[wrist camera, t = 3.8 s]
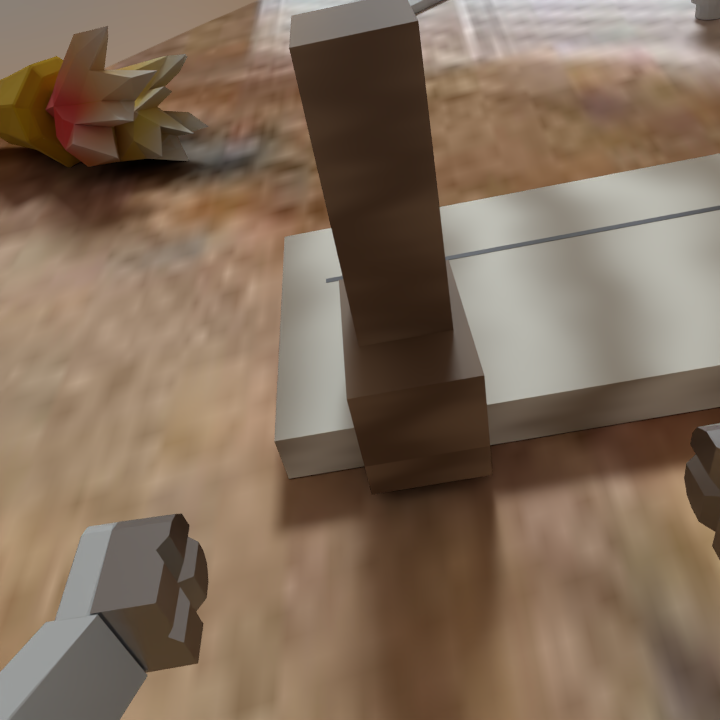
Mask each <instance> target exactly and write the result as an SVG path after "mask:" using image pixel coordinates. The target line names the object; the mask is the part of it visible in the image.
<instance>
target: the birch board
mask: <svg viewBox="0 0 720 720" xmlns="http://www.w3.org/2000/svg"><path fill="white" fill-rule="evenodd" d="M440 216H441V225H442V233H443V242H444V251H445V260H449V262H450V265H451V269H452V272H453V275H454V278H455V282H456V285H457V288H458V291H459V295H460V298H461V301H462V304H463V308H464V311H465V314H466V317H467V321H468V324H469V327H470V330H471V333H472V337H473V340H474V343H475V346H476V350H477V353H478V356H479V359H480V363H481V366H482V369H483V372H484V377H485V389H486V401H487V413H488V425H489V438H490V445H494V444H500V443H506V442H512V441H518V440H524V439H530V438H536V437H542V436H548V435H554V434H560V433H566V432H572V431H578V430H584V429H590V428H596V427H602V426H608V425H614V424H620V423H626V422H632V421H638V420H644V419H650V418H656V417H662V416H668V415H674V414H680V413H686V412H692V411H698V410H704V409H710V408H716V407H720V154H715V155H710V156H704V157H699V158H694V159H689V160H684V161H678V162H673V163H668V164H663V165H657V166H652V167H647V168H642V169H637V170H631V171H626V172H621V173H616V174H611V175H605V176H600V177H595V178H590V179H584V180H579V181H574V182H569V183H564V184H558V185H553V186H548V187H543V188H537V189H532V190H527V191H522V192H517V193H511V194H506V195H501V196H496V197H491V198H485V199H480V200H475V201H470V202H464V203H459V204H454V205H449V206H444V207H440ZM342 279H343V276H342V272H341V268H340V263H339V259H338V255H337V251H336V246H335V242H334V238H333V233H332V229H331V228H329V229H324V230H318V231H313V232H308V233H303V234H298V235H292V236H287V237H285V243H284V263H283V283H282V303H281V323H280V343H279V362H278V382H277V402H276V422H275V444H276V446H277V449H278V452H279V454H280V457H281V459H282V462H283V465H284V467H285V470H286V473H287V475H288V478H289V479H291V478H297V477H303V476H309V475H315V474H321V473H327V472H333V471H339V470H345V469H351V468H357V467H363V466H364V463H363V459H362V455H361V451H360V448H359V444H358V440H357V436H356V433H355V429H354V425H353V421H352V417H351V414H350V410H349V406H348V402H347V397H346V382H345V367H344V352H343V337H342V322H341V307H340V292H339V280H342Z"/></svg>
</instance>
